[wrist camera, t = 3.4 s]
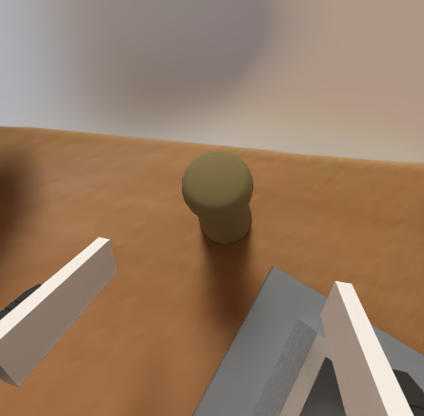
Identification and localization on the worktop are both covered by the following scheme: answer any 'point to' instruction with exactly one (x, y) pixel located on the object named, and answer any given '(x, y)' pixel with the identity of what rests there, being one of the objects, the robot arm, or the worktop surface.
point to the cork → (219, 195)
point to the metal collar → (293, 373)
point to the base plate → (273, 346)
